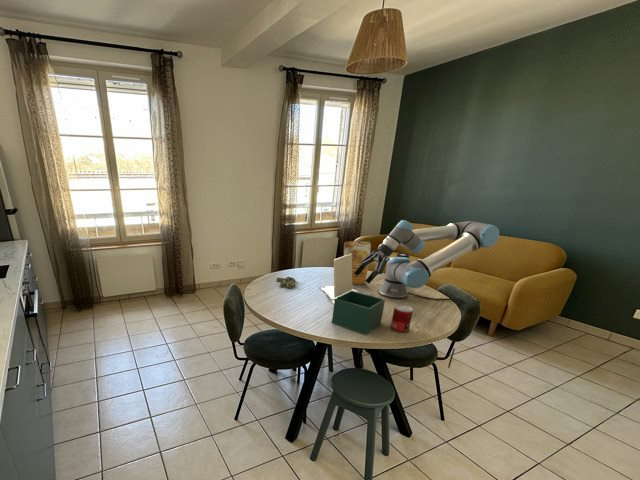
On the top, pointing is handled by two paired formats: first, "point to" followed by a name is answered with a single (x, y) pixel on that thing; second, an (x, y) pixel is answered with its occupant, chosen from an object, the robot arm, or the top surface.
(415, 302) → the top surface
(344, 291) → the lid
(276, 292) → the top surface
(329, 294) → the tray
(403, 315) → the canned food
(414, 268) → the robot arm
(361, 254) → the pancake mix bag
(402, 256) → the travel mug
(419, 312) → the top surface
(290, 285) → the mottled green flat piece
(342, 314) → the tote
